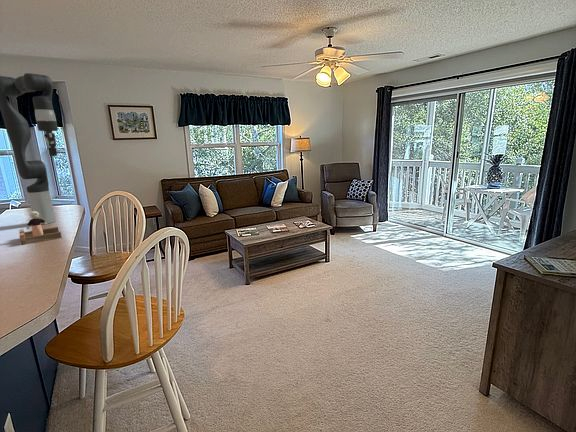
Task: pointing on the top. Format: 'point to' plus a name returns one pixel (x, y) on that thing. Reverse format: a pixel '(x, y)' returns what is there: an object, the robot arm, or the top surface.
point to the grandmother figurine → (36, 224)
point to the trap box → (47, 235)
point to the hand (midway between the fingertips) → (53, 155)
